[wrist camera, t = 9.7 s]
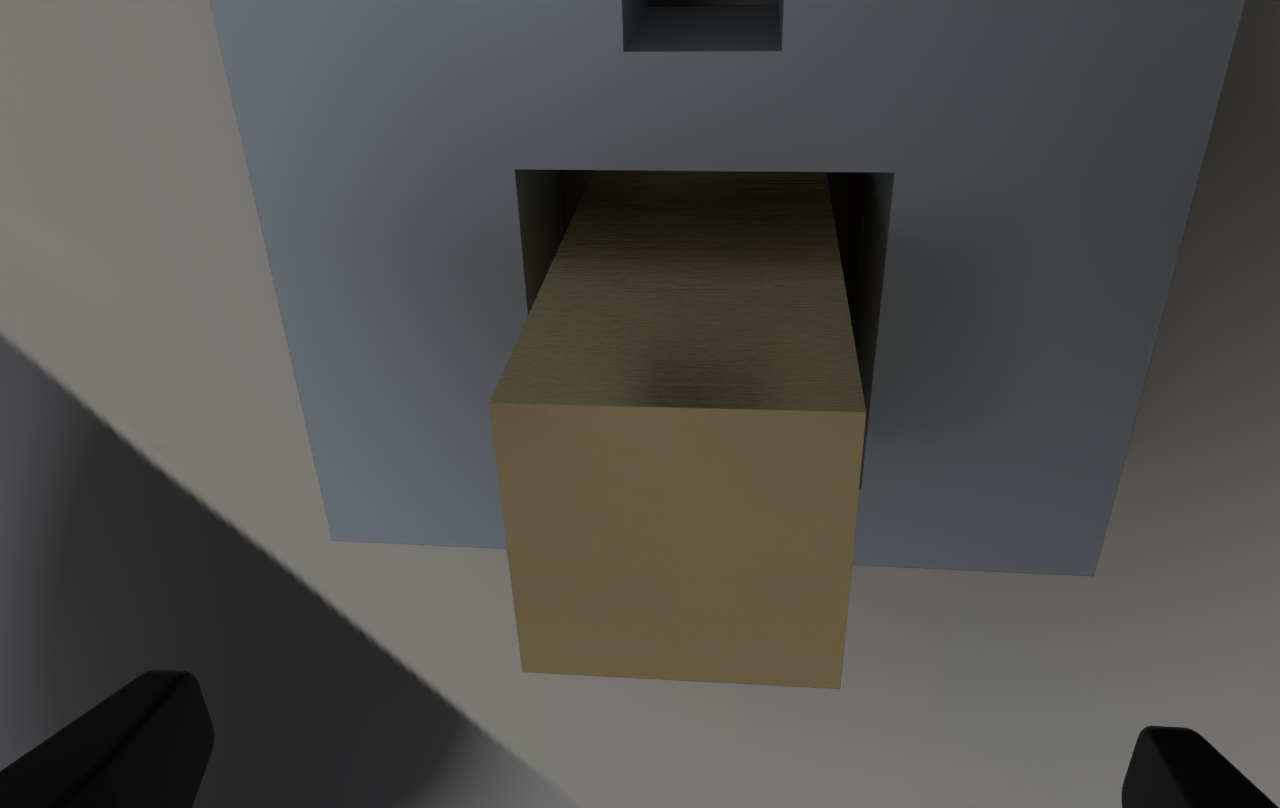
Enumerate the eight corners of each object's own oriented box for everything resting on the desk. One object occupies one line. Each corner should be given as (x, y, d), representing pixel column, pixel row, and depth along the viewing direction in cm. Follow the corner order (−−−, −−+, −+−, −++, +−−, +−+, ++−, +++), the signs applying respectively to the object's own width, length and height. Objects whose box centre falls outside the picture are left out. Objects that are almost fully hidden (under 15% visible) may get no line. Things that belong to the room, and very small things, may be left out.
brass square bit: (822, 152, 18) (865, 412, 11) (810, 350, 20) (840, 688, 13) (601, 152, 19) (487, 403, 11) (611, 346, 21) (522, 672, 13)
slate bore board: (1274, -585, 13) (1429, -700, 10) (1046, 465, 21) (1093, 576, 18) (217, -519, 14) (73, -602, 11) (389, 441, 22) (332, 541, 19)
